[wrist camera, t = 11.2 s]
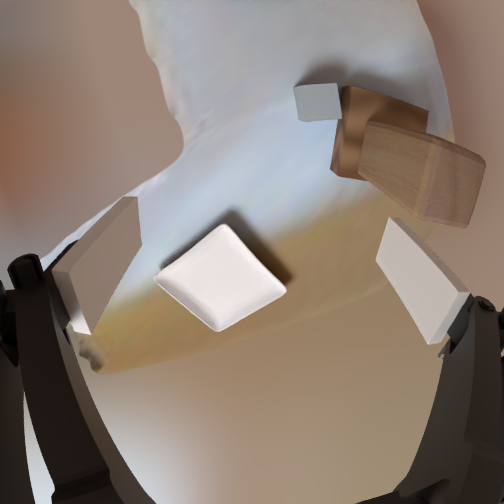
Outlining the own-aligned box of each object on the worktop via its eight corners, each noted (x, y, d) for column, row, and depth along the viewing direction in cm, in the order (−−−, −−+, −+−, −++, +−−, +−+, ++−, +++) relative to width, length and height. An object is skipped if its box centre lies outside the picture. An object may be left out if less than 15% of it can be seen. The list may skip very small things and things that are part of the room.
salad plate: (218, 324, 68) (217, 334, 65) (154, 270, 59) (150, 279, 56) (288, 282, 61) (290, 292, 59) (225, 213, 53) (223, 221, 50)
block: (412, 132, 39) (490, 160, 22) (401, 183, 44) (468, 232, 27) (364, 118, 38) (437, 135, 21) (354, 173, 44) (415, 222, 26)
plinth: (342, 86, 40) (352, 85, 36) (414, 108, 41) (428, 111, 37) (330, 169, 48) (338, 176, 44) (400, 182, 49) (412, 190, 45)
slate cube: (293, 87, 41) (299, 85, 35) (326, 85, 40) (336, 82, 35) (298, 119, 44) (305, 122, 38) (331, 116, 43) (342, 118, 38)
